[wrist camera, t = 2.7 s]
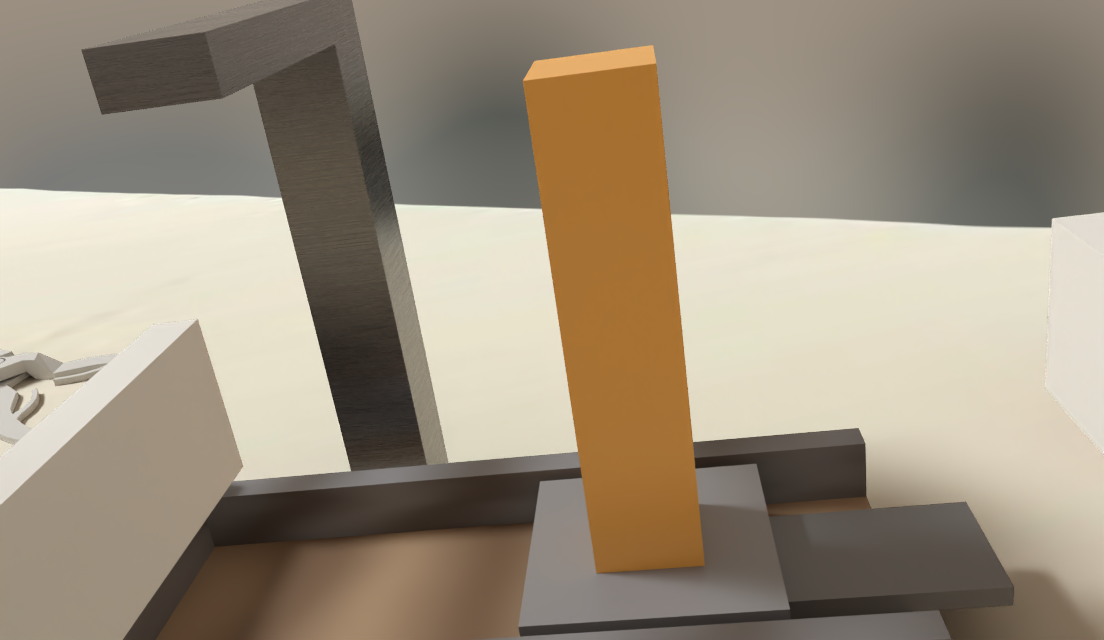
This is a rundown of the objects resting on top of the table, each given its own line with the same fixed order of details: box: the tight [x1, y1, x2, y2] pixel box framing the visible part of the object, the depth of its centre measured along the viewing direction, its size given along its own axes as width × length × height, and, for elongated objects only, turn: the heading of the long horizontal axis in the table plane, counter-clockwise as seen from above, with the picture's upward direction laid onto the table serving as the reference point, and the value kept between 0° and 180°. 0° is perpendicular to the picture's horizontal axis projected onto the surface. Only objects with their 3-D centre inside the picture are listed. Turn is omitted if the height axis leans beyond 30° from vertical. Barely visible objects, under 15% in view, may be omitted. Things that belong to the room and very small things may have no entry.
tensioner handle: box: [518, 45, 1014, 637], centre depth 26 cm, size 13×7×15 cm, turn 86°
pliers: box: [0, 349, 118, 444], centre depth 55 cm, size 10×2×15 cm
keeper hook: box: [82, 0, 448, 471], centre depth 32 cm, size 3×12×19 cm, turn 176°
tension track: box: [123, 428, 951, 640], centre depth 29 cm, size 26×10×5 cm, turn 86°
